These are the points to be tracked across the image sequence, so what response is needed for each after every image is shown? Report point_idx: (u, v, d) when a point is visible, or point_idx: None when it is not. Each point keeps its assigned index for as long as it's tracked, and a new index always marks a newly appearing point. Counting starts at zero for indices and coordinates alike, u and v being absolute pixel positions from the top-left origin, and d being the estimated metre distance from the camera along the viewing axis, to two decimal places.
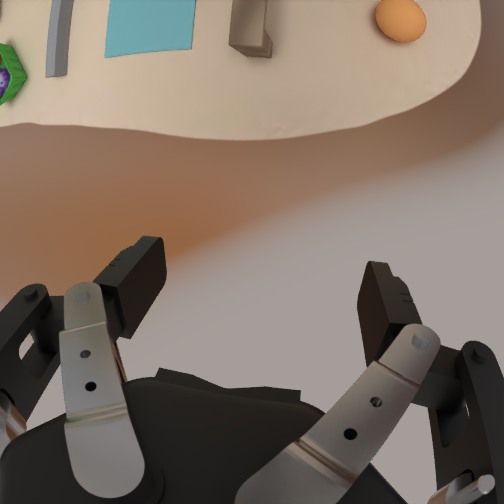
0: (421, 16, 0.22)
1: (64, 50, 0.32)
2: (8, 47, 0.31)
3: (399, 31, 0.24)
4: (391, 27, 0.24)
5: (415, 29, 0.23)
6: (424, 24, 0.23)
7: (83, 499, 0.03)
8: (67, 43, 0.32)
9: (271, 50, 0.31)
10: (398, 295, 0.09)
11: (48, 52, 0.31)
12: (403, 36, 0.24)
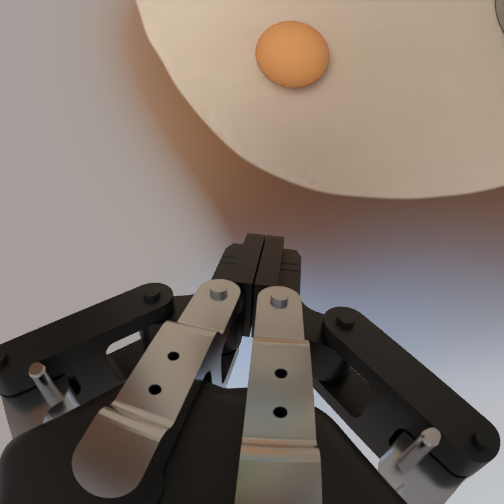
0: (293, 69, 0.20)
1: None
2: None
3: (262, 42, 0.20)
4: (266, 32, 0.20)
5: (269, 61, 0.20)
6: (284, 77, 0.21)
7: (83, 499, 0.03)
8: None
9: None
10: (278, 263, 0.10)
11: None
12: (257, 49, 0.21)
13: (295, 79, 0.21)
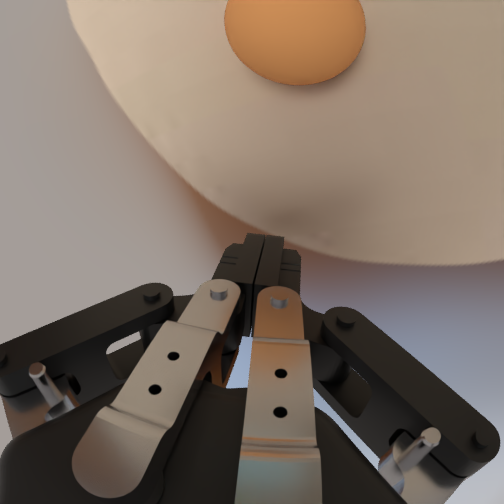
0: (297, 47, 0.09)
1: None
2: None
3: None
4: None
5: (248, 33, 0.09)
6: (279, 64, 0.10)
7: (83, 499, 0.03)
8: None
9: None
10: (278, 263, 0.10)
11: None
12: (226, 14, 0.10)
13: (302, 68, 0.10)
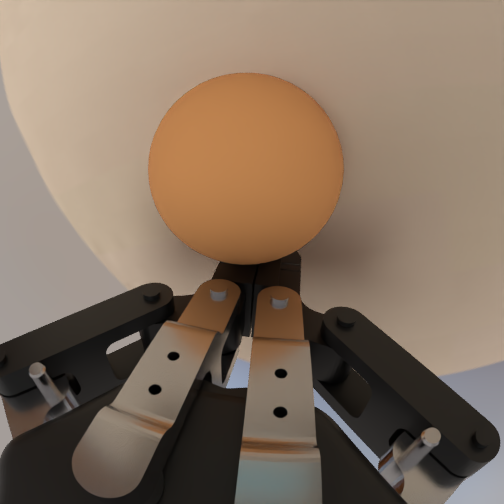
0: (234, 252, 0.08)
1: None
2: None
3: (153, 154, 0.08)
4: (165, 122, 0.08)
5: (171, 221, 0.08)
6: (214, 258, 0.09)
7: (83, 499, 0.03)
8: None
9: None
10: (278, 263, 0.10)
11: None
12: (148, 171, 0.09)
13: (244, 263, 0.09)
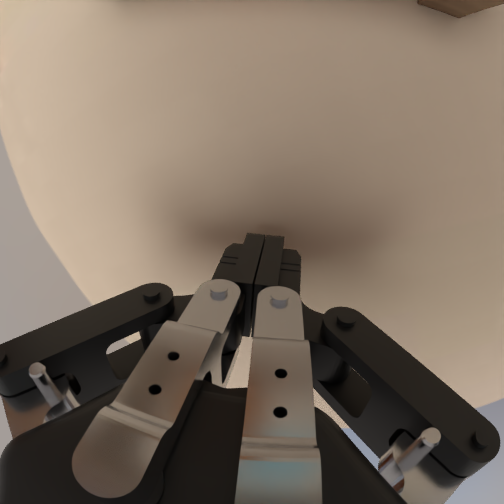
0: None
1: None
2: None
3: None
4: None
5: None
6: None
7: (83, 499, 0.03)
8: None
9: None
10: (278, 263, 0.10)
11: None
12: None
13: None
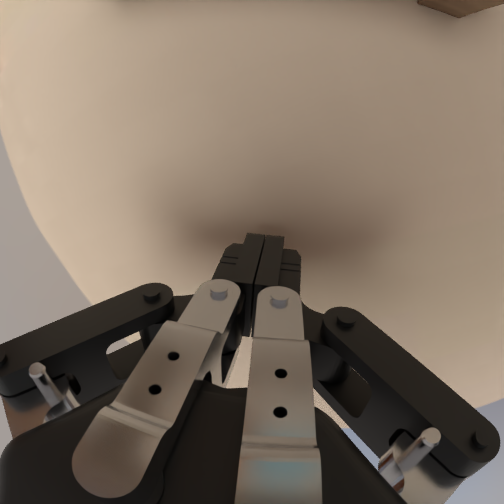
0: None
1: None
2: None
3: None
4: None
5: None
6: None
7: (83, 499, 0.03)
8: None
9: None
10: (278, 263, 0.10)
11: None
12: None
13: None
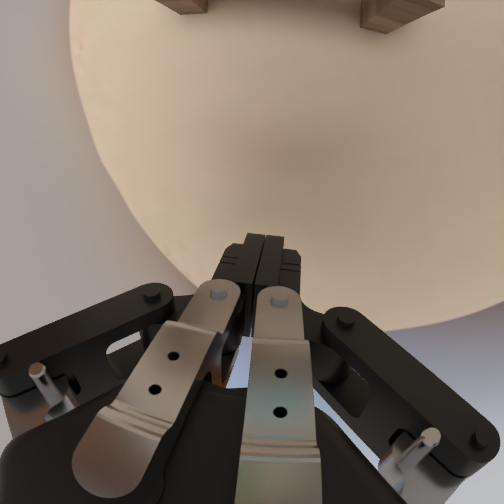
0: None
1: None
2: None
3: None
4: None
5: None
6: None
7: (83, 499, 0.03)
8: None
9: (191, 12, 0.17)
10: (278, 263, 0.10)
11: None
12: None
13: None
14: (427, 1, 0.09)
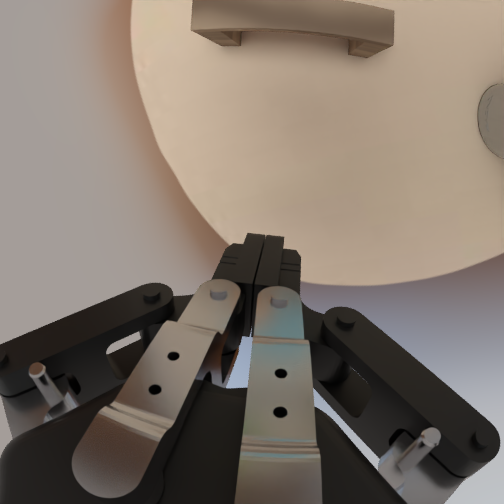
0: None
1: None
2: None
3: None
4: None
5: None
6: None
7: (83, 499, 0.03)
8: None
9: (229, 45, 0.27)
10: (278, 263, 0.10)
11: None
12: None
13: None
14: (382, 43, 0.17)
